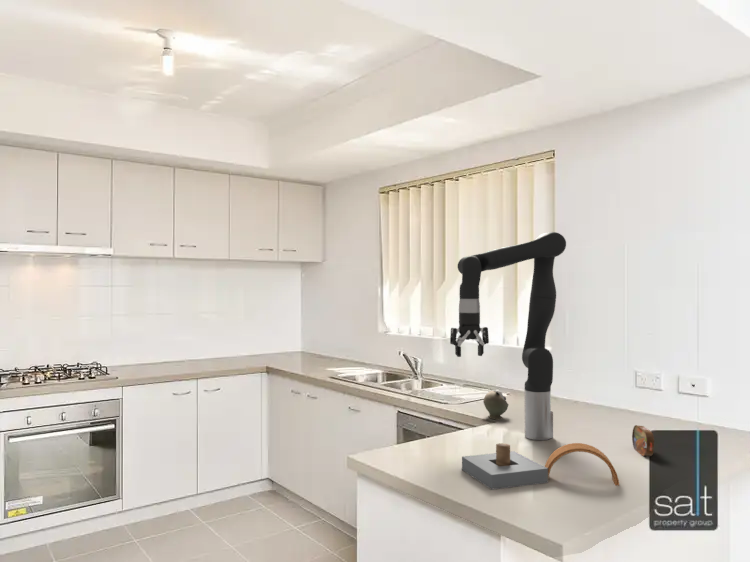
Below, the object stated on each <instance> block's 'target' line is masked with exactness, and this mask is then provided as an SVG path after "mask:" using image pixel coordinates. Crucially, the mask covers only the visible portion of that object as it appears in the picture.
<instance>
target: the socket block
mask: <svg viewBox="0 0 750 562" xmlns="http://www.w3.org/2000/svg"><path fill="white" fill-rule="evenodd" d="M461 470H462V471H463V472H465V473H466V474H468V475H469V476H471V477H472V478H474V479H475V480H477V481H478V482H479V483H481V484H482V485H484V486H485V487H487V488H489V489H490V490H499V489H507V488H513V487H515V488H516V487H522V486H529V485H531V486H532V485H537V484H538V485H539V484H545V483H549V478H548V468H546V467H545V465H543V464H540V463H538V462H536V461H534V460H532V459H530V458H528V457H527V456H524V455H523V454H520V453H518V452H516V451H515V450H512V451H511V450H510V465H509V466H500V467H499V466H497V465H496V452H493V453H485V454H483V453H482V454H481V453H480V454H475V455H463V456H461Z"/></svg>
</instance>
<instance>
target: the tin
mask: <svg viewBox="0 0 750 562" xmlns="http://www.w3.org/2000/svg"><path fill="white" fill-rule="evenodd" d="M631 434H632V435H631V437H632V439H631V440H632V447H633V449H634V450H635V451H636V452H637V454H639V455H640V456H641V457H652V456H653V454H654V450H655V436H654V433H653V432H652V431H651V430H649V429H648V428H647V427H646V426H644V425H637V424H635V425H634V426H633V428H632V432H631Z"/></svg>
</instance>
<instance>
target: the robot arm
mask: <svg viewBox="0 0 750 562" xmlns="http://www.w3.org/2000/svg"><path fill="white" fill-rule="evenodd" d="M566 247H567V241H566V239H565V237H564V235H563V234H561V233H559V232H555V231H549V232H544V233H541V234H540V235H539V236H537V237H536V239H534V240H530V241H528V242H523V243H519V244H514V245H509V246H503V247H500V248H495V249H491V250H488V251H485V252H483V253H482V252H481V253H477V254H473V255H468V256H464V257H462V258H461V259H459V261H458V263H457V269H458V272H459V273H460V274H461V278H462V279H461V283H460V285H459V303H458V328H457V327H451V328H450V337H449V338H450V339H449V343H450V345H453V346H454V347H455V349H454V351H455V352H454V353H455V355H456V357H457V358H460V357H462V346H461V345H462V344H463V343H464V342H465V341H467V340H468V341H469V340H473V341H474V340H475V342H476V343H477V344H478V345H477V356H479V357H483V355H484V353H485V351H484V348H485V347H484V346H485V345H487V344H489V341H490V339H489V328H488V327H487V326H482V327H481V326H480V325H481V304H480V287H479V286H480V282H481V278H482V277H481V275H482V272H485V271H492V270H498V269H501V268H505V267H508V266H512V265H516V264H519V263H521V262H524V261H527V260H533V271H532V272H533V273H532V281H531V289H530V296H529V305H528V315H527V316H528V317H527V328H526V335H525V340H524V345H523V349H522V353H521V359H522V363H523V366H525V368H527V370H528V371H527V379H526V380H525V382H524V437H525V438H526V439H529V440H533V441H547V440H550V439H554V412H553V411H552V409H551V408H552V405H551V403H552V402H551V401H552V399H551V396H552V394H551V391H552V390H551V388H552V387H551V386H552V385H553V384H552V383H553V381H554V359H553V358H554V357H553V355H552V352H551V351H550V350H549V349H547V348H546V336H547V333H548V329H549V326H550V325H551V322H552V320H553V318H554V315H555V310H556V302H557V288H556V282H555V279H554V264H555V259H556V257H559V256H560V255H562V254H563V253H564V251H565V249H566ZM480 333H481V336H480ZM458 334H459V336H458V337H457V335H458Z"/></svg>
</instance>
